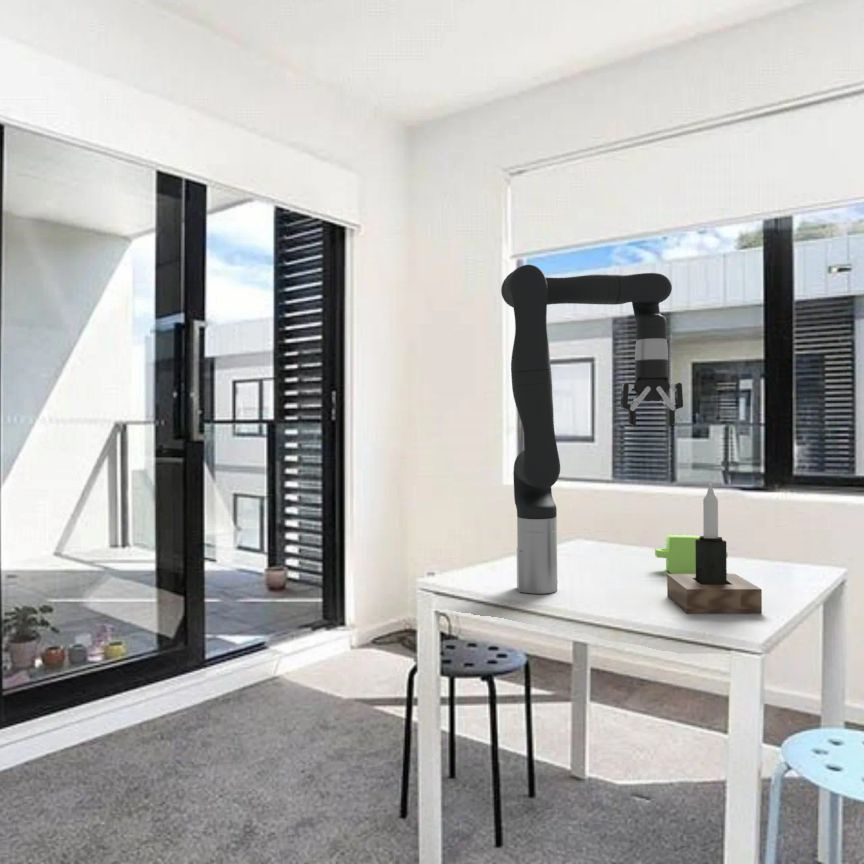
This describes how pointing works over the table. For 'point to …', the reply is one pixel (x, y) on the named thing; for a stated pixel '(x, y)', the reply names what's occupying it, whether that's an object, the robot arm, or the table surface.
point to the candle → (711, 546)
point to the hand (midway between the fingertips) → (651, 426)
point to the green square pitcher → (679, 554)
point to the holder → (714, 595)
